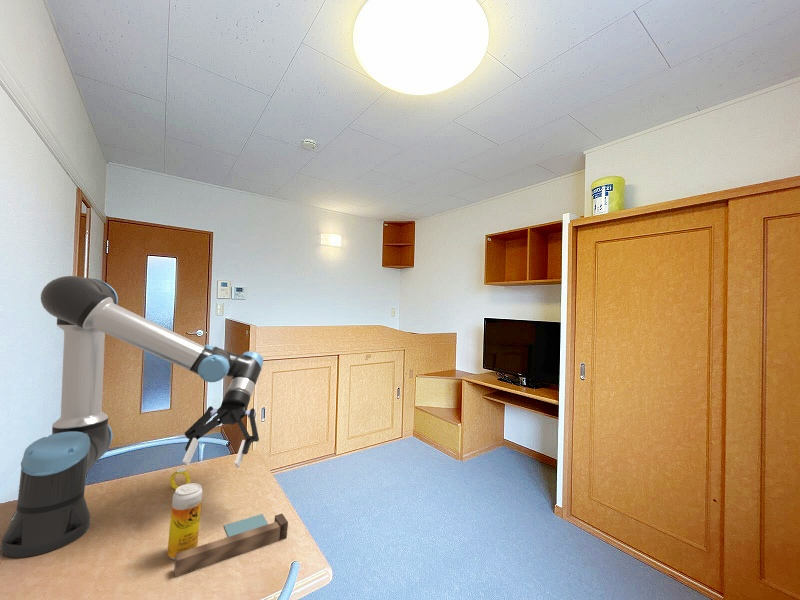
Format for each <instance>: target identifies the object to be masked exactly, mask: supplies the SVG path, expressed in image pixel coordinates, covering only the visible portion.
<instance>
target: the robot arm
mask: <svg viewBox="0 0 800 600" xmlns="http://www.w3.org/2000/svg"><path fill="white" fill-rule="evenodd" d="M40 302H41V304H42V307H43V309H45V311H46V312H47V313H48V314H50V315H51V316H53V317H55V318H56V326H57V327H58V328H59V329H61V330H62V331H63V350H62V351H63V355H62V376H61V400H60V401H61V403H60V417H59V418H58V419H57V420H56V421H54V422H53V423H52V427H51V428H52V431H51V434H50V435H48V436H42V437H41V438H39V439H37V440H35V441H33V442H31V443H30V444H29V445H28V446H27V447H26V448H25V451H24V452H23V457H22V458H21V462H20V468H21V469H20V476H19V486H18V496H17V506H16V511H15V514H14V516H13V518H12V520H11V522H10V523H9V525H8V528H7V530H6V531H5V533H4V535H3V536H2V540H1V545H0V553H1V554H2V556H5V557H7V558H27V557H33V556H34V557H35V556H38V555H42V554H45V553H48V552H51V551H55V550H56V549H60V548H62V547H64V546H67V545H69V544H70V543H73V542H74V541H75V540H77V539H79V538H80V537H82V536H83V535H84V534H85V533H86V532H87V531H88V529H89V528H90V525H91V512H90V510H89V506H88V504H87V501H86V499H85V489H86V481H87V472H88V471H89V469H91V468H92V466H94V464H96V463H97V462H98V461H99V460H100V459H101V458H102V456H104V455H105V454H106V452H107V451H108V449H109V448H110V446H111V444H112V442H113V436H114V435H113V430H112V427H111V426H110V425H109V415H108V414H106V413H105V412H104V411H103V409H102V408H103V392H104V391H103V389H104V388H103V387H104V367H105V366H104V362H105V340H106V339H105V338H106V335H108V336H110V337H113V338H115V339H117V340H119V341H122V342H124V343H126V344H129V345H131V346H134V347H136V348H138V349H140V350H142V351H144V352H147V353H149V354H152V355H154V356H155V357H158V358H161V359H163V360H165V361H167V362H169V363H172V364H174V365H177V366H179V367H181V368H183V369H186V371H187V370H188V371H190V372H192V373H194V374H196V375H198V376H199V377H200V378H201V379H202V380H203V381H205V382H207V383H216V382H219V381H221V380H223V379H224V378H225V377H226V376H227V377H230V378H232V379H231V381H230V383H229V385H228V387H227V390H226V393H225V394H224V397H223V399H222V401H221V404H220V406H219V408H214V407H213V406H209V407H208V408H207V410H206V411H205V412H204V414H202V416H200V418H198V419H197V420H196V421H195V422H194V423H193V424H192V425H191V426H190V427H189V428H188V429H187V430H186V431H185V432H184V436H185V437H186V439H188V441H187V442H186V443H187V444H186V445H185V447H184V448H185V452H186V453H185V455H184V457H183V459H182V463H183V464H184V466H189V465H190V463H191V460H192V458H193V456H194V454H195V452H196V450H197V447H198V445H199V439H201V438H202V437H203V436H205V435H206V434H208V433H209V432H210V431H212V430H213V429H214V428H216V427H218V426H220V425H222V424H223V425H231V426H233V425H236V424H237V425H238V427H239V429H240V431H241V432H242V434H243V437H244V439H242V441H241V443H240V447H239V449H238V452H237V455H236V458H235V461H234V465H235V468H240V467H241V464H242V461H243V458H244V455H247V454H248V453H249V450H250V446H251V444H252V443H254V442H255V443H256V442H259V441H260V438H259V433H258V427H257V422H256V415H257V412H256V409H255V408H250V409H249V410H247V409H248V408H249V407H248V406H249V404H250V401H251V398H252V395H253V393H254V390H255V387H256V385H257V382H258V379H259V377H260V373H261V371H262V369H263V368H262V367H263V363H264V358H263V356H262V355H261V354H260V353H258V352H256V351H250V350H249V351H245V352H243V354H238V353H235V352H231V351H228V350H225V349H223V348H221V347H220V348H219V347H218V346H214V345H210V344H205V345H202V344H200V343H197V342H196V341H193V340H191V339H189V338H187V337H185V336H183V335H180V334H179V333H176V332H174V331H173V330H170V329H169V328H167V327H164V326H162V325H160V324H157V323H156V322H154V321H152V320H149V319H147V318H145V317H143V316H141V315H139V314H137V313H135V312H132V311H130V310H129V309H127V308H124V307H122V306H120V305H118V304H119V303H118V302H119V297H118V294H117V291H116V290H115V289H114V288H113V287H112V286H111V285H110V284H108V283H107V282H105V281H103V280H101V279H96V278H92V277H91V278H90V277H89V278H88V277H84V276H83V277H82V276H76V275H66V276H60V277H57V278H55V279H53V280H51V281H49V282H48V283H47V284H46V285H45V286H44V287H43V289H42V291H41V293H40ZM216 414H217V415H216ZM246 416H247V418H249V423H250V428H251V433H252V435H250V434H249V431H248V430H247V428H246V427H245V426H246V425H244V422H243V420H242V419H243V418H245V417H246ZM210 419H211V420H210Z"/></svg>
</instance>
